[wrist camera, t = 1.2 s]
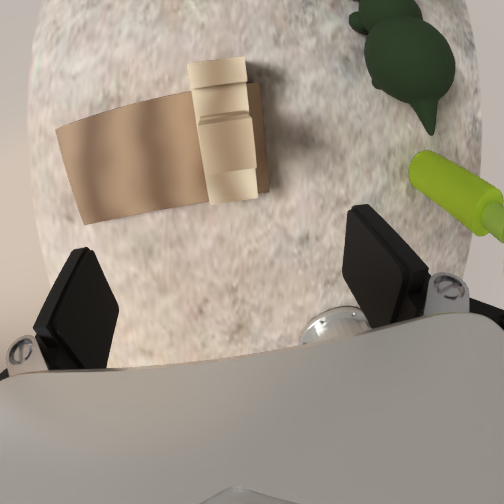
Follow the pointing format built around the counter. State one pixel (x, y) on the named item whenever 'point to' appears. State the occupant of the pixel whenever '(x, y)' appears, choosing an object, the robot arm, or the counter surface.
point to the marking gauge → (224, 128)
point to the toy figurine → (405, 55)
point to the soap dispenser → (459, 193)
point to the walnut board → (145, 157)
